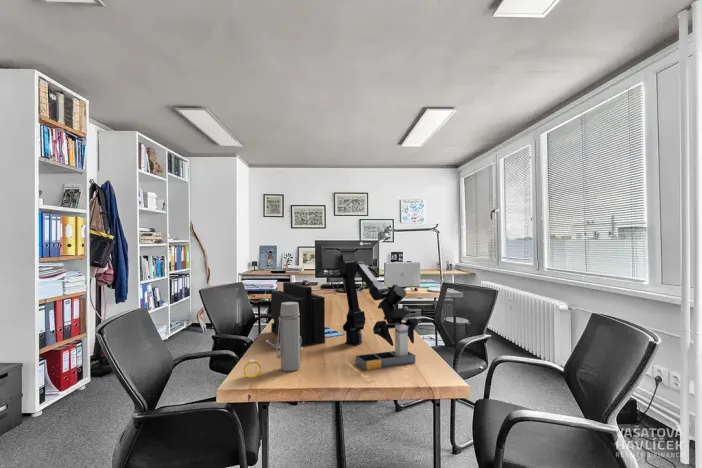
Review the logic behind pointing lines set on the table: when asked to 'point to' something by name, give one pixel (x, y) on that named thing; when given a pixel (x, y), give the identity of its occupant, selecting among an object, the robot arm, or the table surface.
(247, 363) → the yellow ring
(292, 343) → the water bottle
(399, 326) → the white capped pillar
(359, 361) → the rack
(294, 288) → the game console
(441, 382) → the table surface
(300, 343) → the wall mount rack
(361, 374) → the table surface
